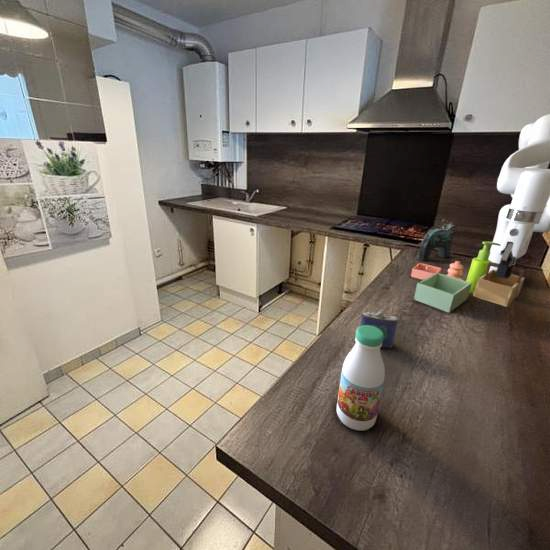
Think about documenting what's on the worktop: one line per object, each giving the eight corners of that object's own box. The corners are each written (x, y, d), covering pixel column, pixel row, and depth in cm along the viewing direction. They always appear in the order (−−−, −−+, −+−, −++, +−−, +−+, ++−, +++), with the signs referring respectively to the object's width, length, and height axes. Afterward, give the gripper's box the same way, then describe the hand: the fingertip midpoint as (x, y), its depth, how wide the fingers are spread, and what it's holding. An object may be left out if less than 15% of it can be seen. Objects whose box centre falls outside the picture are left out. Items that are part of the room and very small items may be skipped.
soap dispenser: (486, 296, 109) (504, 245, 101) (466, 294, 110) (482, 243, 103) (480, 289, 115) (496, 240, 107) (460, 287, 116) (475, 239, 108)
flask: (392, 344, 80) (399, 310, 76) (393, 350, 78) (400, 316, 74) (357, 338, 83) (362, 305, 79) (357, 344, 80) (362, 310, 76)
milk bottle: (331, 401, 62) (342, 320, 54) (367, 399, 62) (382, 318, 54) (342, 433, 55) (356, 345, 47) (382, 430, 55) (402, 343, 47)
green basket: (433, 288, 114) (437, 272, 112) (466, 300, 106) (472, 282, 103) (413, 300, 105) (417, 283, 102) (448, 314, 96) (454, 295, 94)
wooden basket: (486, 285, 98) (495, 257, 94) (518, 294, 92) (529, 265, 88) (472, 296, 91) (482, 265, 87) (506, 306, 85) (518, 275, 81)
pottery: (410, 277, 124) (415, 255, 121) (417, 271, 131) (422, 250, 127) (458, 290, 114) (465, 266, 110) (463, 282, 120) (469, 260, 116)
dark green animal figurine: (442, 254, 155) (451, 216, 147) (453, 258, 149) (463, 219, 141) (414, 258, 147) (423, 219, 139) (425, 263, 142) (435, 222, 134)
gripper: (534, 222, 75) (510, 287, 82) (546, 215, 84) (524, 274, 91) (499, 217, 80) (479, 278, 87) (515, 211, 89) (496, 267, 96)
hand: (502, 276), depth 89 cm, fingers closed on wooden basket, 1 cm apart
